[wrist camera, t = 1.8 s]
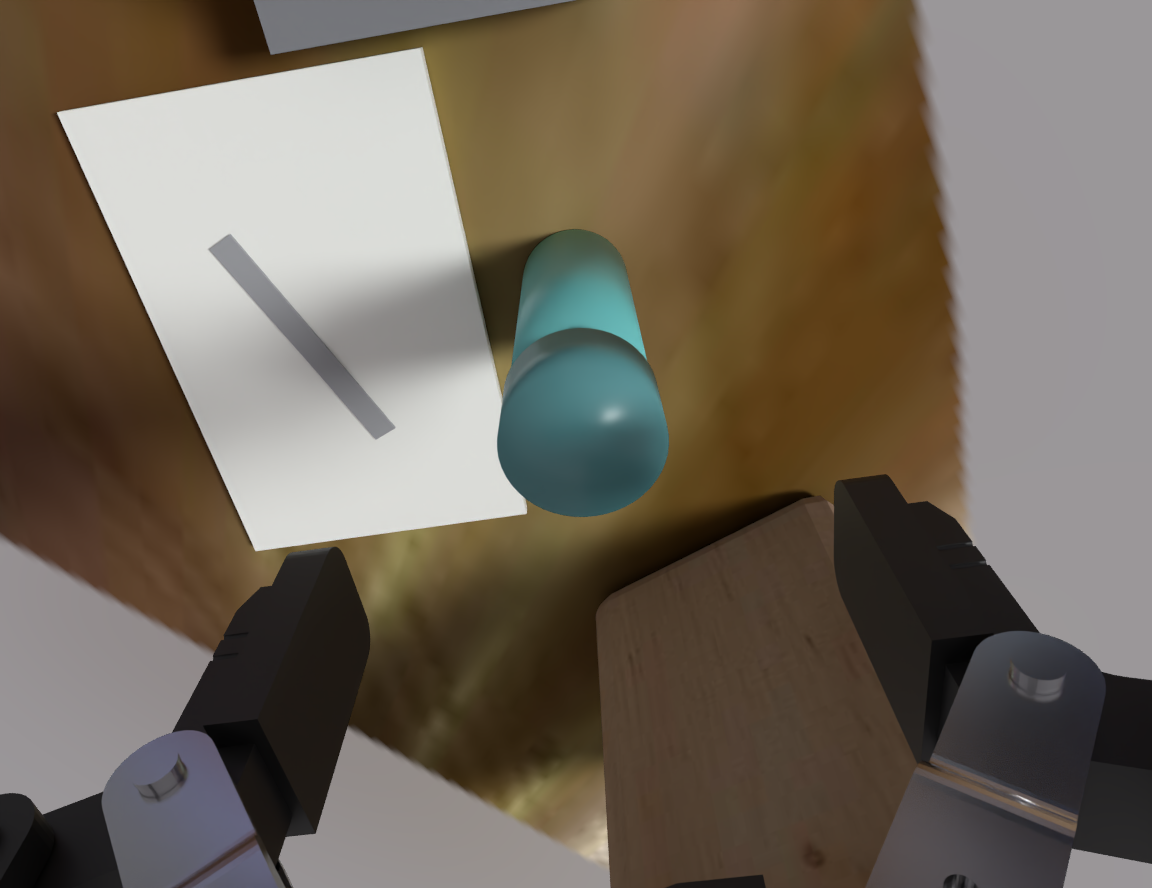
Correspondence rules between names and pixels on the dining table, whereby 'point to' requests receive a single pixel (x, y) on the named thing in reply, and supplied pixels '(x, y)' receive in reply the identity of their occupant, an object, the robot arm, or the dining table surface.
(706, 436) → the dining table surface
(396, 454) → the pad
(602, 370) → the marker
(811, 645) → the wooden block
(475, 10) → the button housing
